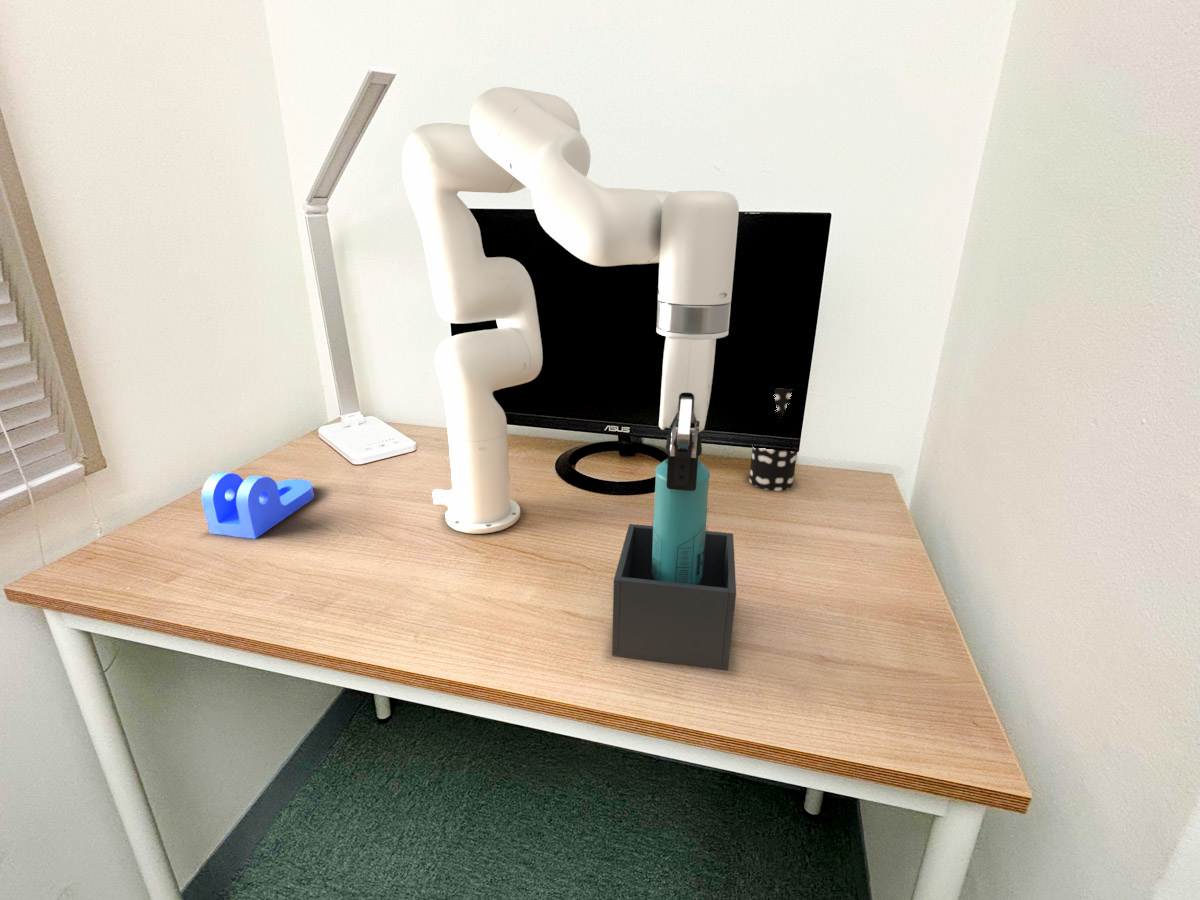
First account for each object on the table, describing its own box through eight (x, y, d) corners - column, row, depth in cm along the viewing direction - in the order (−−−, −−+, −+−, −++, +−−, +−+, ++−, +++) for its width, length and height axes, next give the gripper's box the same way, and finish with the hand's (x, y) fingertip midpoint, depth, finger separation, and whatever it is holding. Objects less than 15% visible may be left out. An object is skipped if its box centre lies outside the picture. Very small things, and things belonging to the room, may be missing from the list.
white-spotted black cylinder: (743, 473, 125) (753, 377, 117) (783, 472, 125) (796, 377, 118) (756, 491, 117) (768, 389, 110) (799, 490, 118) (813, 388, 110)
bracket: (255, 538, 98) (244, 487, 95) (209, 533, 100) (197, 482, 96) (323, 491, 115) (315, 446, 111) (283, 487, 116) (274, 442, 113)
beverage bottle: (701, 604, 73) (714, 446, 65) (645, 597, 74) (652, 441, 67) (703, 574, 79) (716, 426, 71) (652, 568, 80) (659, 422, 73)
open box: (611, 655, 73) (613, 579, 70) (627, 591, 86) (629, 523, 82) (728, 670, 71) (736, 593, 67) (726, 601, 84) (733, 533, 80)
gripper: (663, 305, 73) (656, 447, 79) (648, 332, 57) (641, 506, 64) (727, 308, 72) (715, 451, 78) (731, 336, 56) (715, 512, 62)
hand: (682, 474), depth 71 cm, fingers closed on beverage bottle, 6 cm apart
